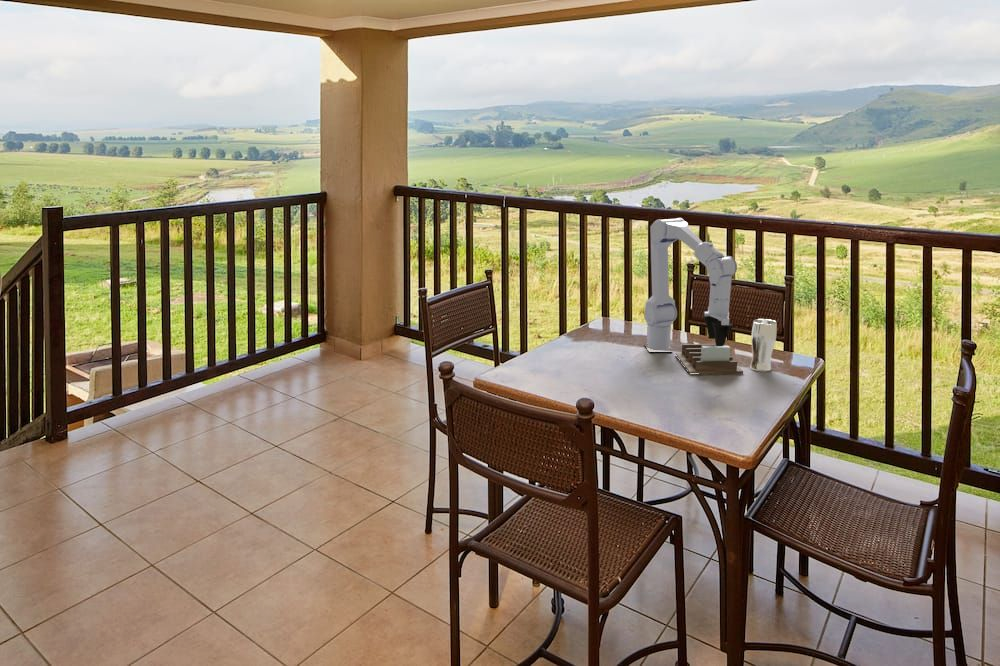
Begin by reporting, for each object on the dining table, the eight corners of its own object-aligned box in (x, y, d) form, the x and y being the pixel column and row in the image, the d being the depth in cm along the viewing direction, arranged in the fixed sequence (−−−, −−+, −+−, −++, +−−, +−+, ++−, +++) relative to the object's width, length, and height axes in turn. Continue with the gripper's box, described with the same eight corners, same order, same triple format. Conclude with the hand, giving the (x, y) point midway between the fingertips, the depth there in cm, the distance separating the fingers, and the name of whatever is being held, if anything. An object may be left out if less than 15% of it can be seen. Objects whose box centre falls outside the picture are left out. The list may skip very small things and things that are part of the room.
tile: (699, 367, 198) (701, 345, 196) (726, 367, 198) (728, 345, 196) (701, 369, 196) (703, 347, 194) (728, 369, 196) (730, 347, 194)
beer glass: (746, 370, 198) (751, 323, 194) (749, 363, 204) (754, 317, 199) (771, 373, 195) (776, 325, 190) (773, 366, 201) (778, 320, 196)
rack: (675, 355, 212) (676, 344, 211) (724, 355, 212) (725, 343, 211) (689, 374, 195) (690, 362, 194) (742, 374, 195) (744, 361, 194)
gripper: (699, 292, 198) (696, 335, 202) (713, 304, 184) (709, 349, 188) (722, 292, 198) (718, 335, 202) (738, 303, 184) (734, 349, 188)
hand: (715, 342), depth 195 cm, fingers open, 7 cm apart
